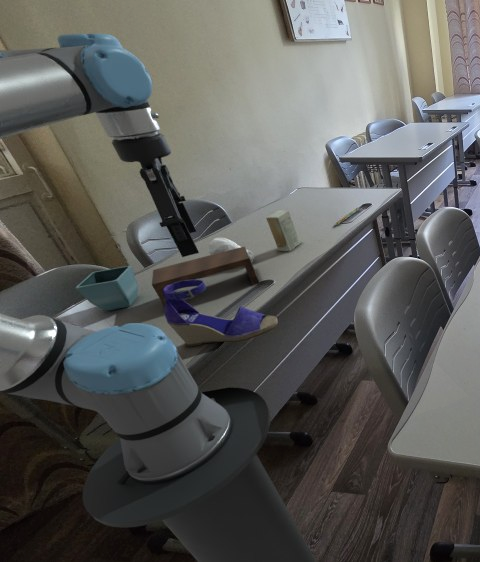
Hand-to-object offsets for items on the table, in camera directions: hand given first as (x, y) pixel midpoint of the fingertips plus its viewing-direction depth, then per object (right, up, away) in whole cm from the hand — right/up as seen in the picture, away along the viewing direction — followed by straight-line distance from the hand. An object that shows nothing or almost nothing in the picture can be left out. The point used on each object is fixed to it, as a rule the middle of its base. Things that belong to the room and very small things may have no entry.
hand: (189, 243), depth 82 cm
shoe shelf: (-17, -10, +31) cm, 37 cm away
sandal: (+1, -20, +12) cm, 24 cm away
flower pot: (-38, -14, +26) cm, 48 cm away
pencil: (+4, +17, +74) cm, 76 cm away
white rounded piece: (-18, +1, +42) cm, 45 cm away
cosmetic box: (-7, +3, +53) cm, 53 cm away
